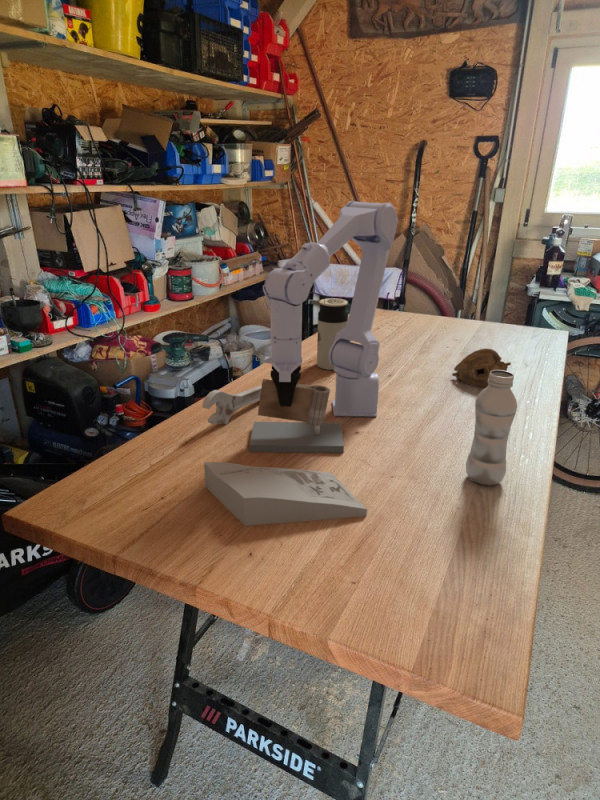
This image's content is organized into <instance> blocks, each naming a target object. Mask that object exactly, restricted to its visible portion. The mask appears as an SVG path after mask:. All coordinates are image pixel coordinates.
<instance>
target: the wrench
mask: <svg viewBox="0 0 600 800" xmlns="http://www.w3.org/2000/svg"><path fill="white" fill-rule="evenodd" d="M261 388H262V384H260V385H258V386H256V387H253V388H250V389H247V390H244V391H242V392H239V393H236V394H232V393H227V392H225V391H222V390H218V389H214V390H212V391H210V392H209V393H208V394H207V395H206V396H205V397H204V399H203V401H202V408H203V409H206V410H210V409H211V408H212V407H213V406H214V405H215V406H216V408H215V412H214V413H212V414H211V415H210V416H209V417H208V418H207V423H209V424H212V425H220V424H223V425H228V424H229V421H230V419H231V418H232V416H233V415H234V414H235V413H236V412H237V411H238V410H239V409H241V408H244V407H245V406H248V405H250V404H253V403H255V402H260V395H261Z"/></svg>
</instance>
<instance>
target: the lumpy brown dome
mask: <svg viewBox="0 0 600 800" xmlns="http://www.w3.org/2000/svg"><path fill="white" fill-rule="evenodd" d="M511 365H512V363H511V362H505V361H502V356H500V355H499V353H498V352H497V351H496V350H494V349H491V348H481V349H477V350H475V351H473V352H471V353H469V354H468V355H467V356H465V357H464V358H463V359H462V360H461V361H460V362H459V363H458V364H456V366H455V367H454V371H455V372H453V373H452V377H456V378H457V379H459V380H460V381H462V382H463V383H465V384H467V385H469V386H473V387H479V388H483V389H485V388H486V387H487V386H488V385H489V384H488V383H487V381H488V379H489V374H490V371H492V370H504V371H508V368H509V367H508V366H511Z"/></svg>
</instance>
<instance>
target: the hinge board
mask: <svg viewBox="0 0 600 800" xmlns="http://www.w3.org/2000/svg"><path fill="white" fill-rule="evenodd" d="M344 449H345V444H344V437H343V430H342V423H341V422H324V424H322V425H319V426H315V425H311V424H308V423H307V422H301V421H294V422H293V421H289V422H288V421H253V425H252V430H251V435H250V440H249V453H250V452H251V453H253V452H255V453H256V452H257V453H258V452H259V453H260V452H261V453H262V452H263V453H314V454H315V453H318V454H319V453H321V454H322V453H323V454H325V453H328V454H329V453H330V454H336V453H337V454H343V453H344V451H345V450H344Z"/></svg>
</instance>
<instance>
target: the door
mask: <svg viewBox="0 0 600 800" xmlns="http://www.w3.org/2000/svg"><path fill="white" fill-rule="evenodd" d="M261 382H262V383H261V385H262V388H261V395H260V400H259V401H258V402H259V403H258V410H257V411H258V412H257V416H261V417H269V418H274V419H281V420H288V421H294V422H307V423H308V424H311V425H315V426H319V425H322V424H324V423H325V417H326V412H327V408H328V402H329V398H330V397H329V396H330V393H331V391H330V388H329V387H327V386H324V385H320V384H319V385H318V384H315V385H314V384H313V385H308V384H301V383H297V385H296V388H295V391H294V396H293V401H292V405H291V407H286V406H280V403H279V399H278V393H277V389H276V386H275V384H274V382H273V380H272V379H267V378H262V381H261Z"/></svg>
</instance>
